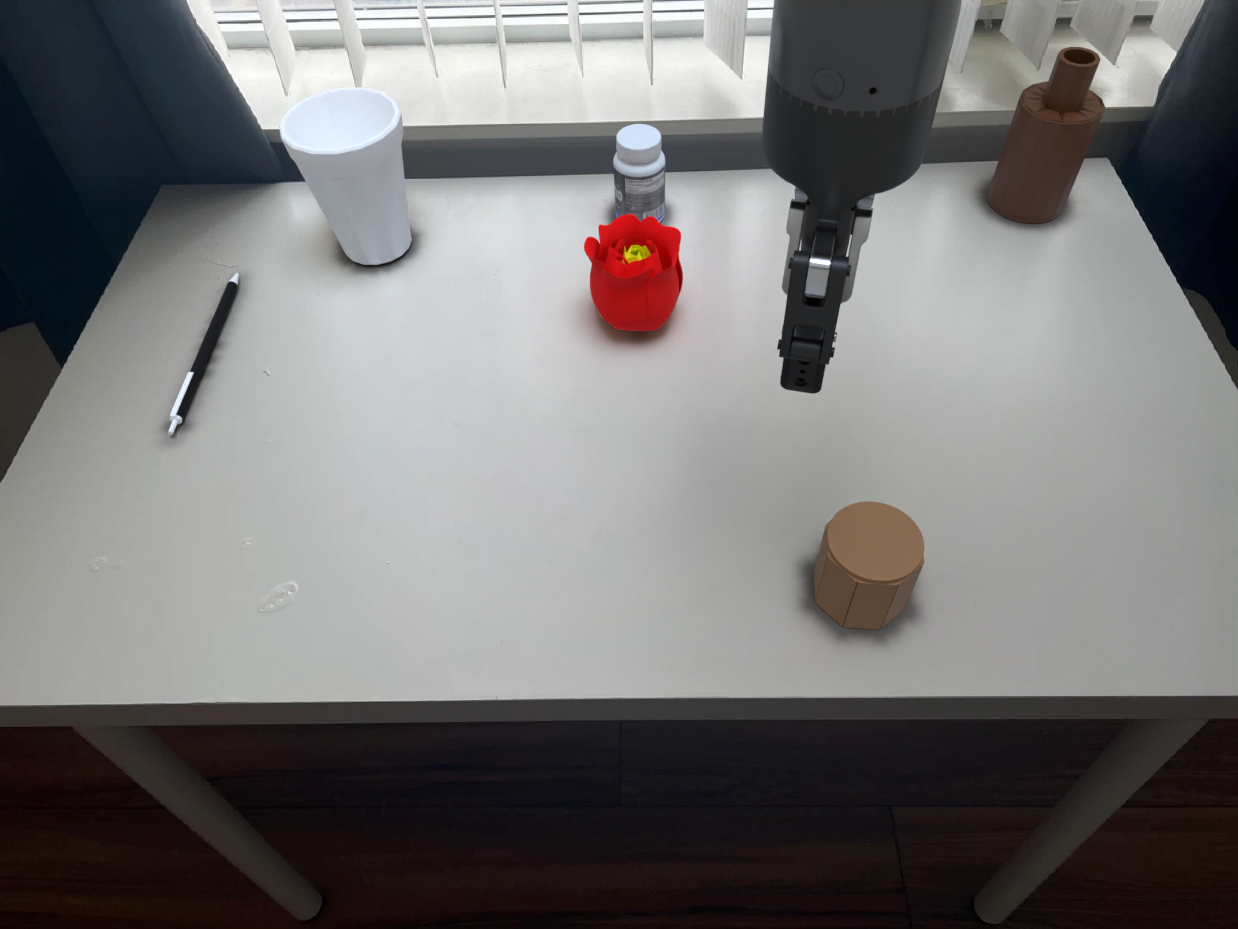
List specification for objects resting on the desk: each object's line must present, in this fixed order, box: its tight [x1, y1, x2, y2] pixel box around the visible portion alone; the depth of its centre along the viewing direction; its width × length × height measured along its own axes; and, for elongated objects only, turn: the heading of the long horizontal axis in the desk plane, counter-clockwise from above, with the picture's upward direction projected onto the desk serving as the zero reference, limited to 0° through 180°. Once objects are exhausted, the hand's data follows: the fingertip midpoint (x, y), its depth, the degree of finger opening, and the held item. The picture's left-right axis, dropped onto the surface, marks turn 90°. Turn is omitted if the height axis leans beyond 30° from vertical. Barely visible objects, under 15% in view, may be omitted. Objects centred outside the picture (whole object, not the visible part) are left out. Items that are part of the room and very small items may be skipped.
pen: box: [167, 271, 240, 436], centre depth 75 cm, size 1×19×1 cm, turn 179°
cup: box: [278, 87, 413, 266], centre depth 79 cm, size 10×10×13 cm
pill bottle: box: [612, 123, 666, 224], centre depth 82 cm, size 5×5×8 cm
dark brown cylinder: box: [987, 46, 1106, 225], centre depth 79 cm, size 7×7×14 cm
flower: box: [583, 214, 684, 332], centre depth 73 cm, size 8×8×8 cm
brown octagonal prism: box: [813, 500, 925, 631], centre depth 57 cm, size 6×6×6 cm
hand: (810, 333), depth 51 cm, fingers open, 8 cm apart
